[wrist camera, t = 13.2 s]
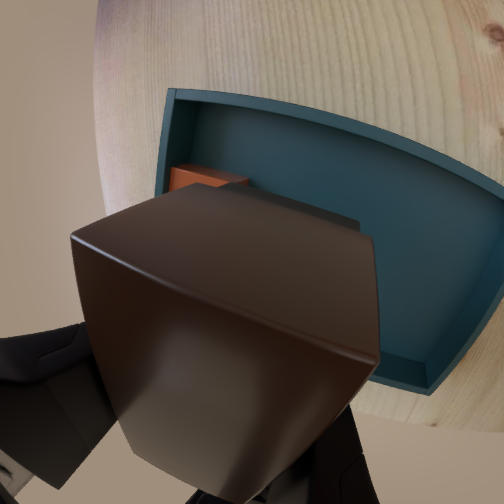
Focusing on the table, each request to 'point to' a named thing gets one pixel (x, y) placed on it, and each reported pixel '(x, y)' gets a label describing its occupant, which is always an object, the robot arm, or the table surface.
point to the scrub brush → (228, 328)
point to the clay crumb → (201, 176)
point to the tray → (366, 214)
